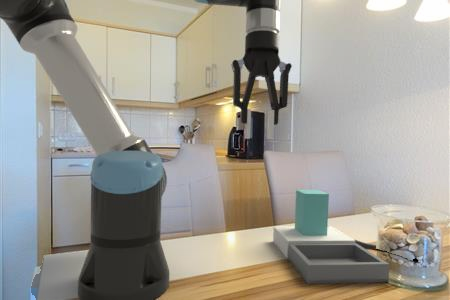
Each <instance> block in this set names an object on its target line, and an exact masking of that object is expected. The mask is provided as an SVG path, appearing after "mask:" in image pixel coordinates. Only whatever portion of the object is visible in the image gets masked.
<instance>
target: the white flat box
mask: <svg viewBox="0 0 450 300" xmlns="http://www.w3.org/2000/svg"><path fill="white" fill-rule="evenodd" d="M355 240H356V239H355V238H352V237H351V236H348V235H347V234H345V233H344V232H342V231H340V230H338V229H337V228H336V227H334V226H331V225H329V226H327V235H302V234H301V233H300V232H298V231H297V230H296V229H295V225H293V226H291V225H290V226H287V225H286V226H285V225H284V226H282V225H279V226H278V225H277V226H275V225H274V226H273V239H272V242H273V243H274V245H275V246H277V248H278V249H279V250H280V252H281V253H282V254H283V256H285V258H286V259H287V260H288V244H345V243H355Z"/></svg>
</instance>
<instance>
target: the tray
mask: <svg viewBox="0 0 450 300" xmlns="http://www.w3.org/2000/svg"><path fill="white" fill-rule="evenodd" d="M287 260H288V262H289V263H290V264H291V265H292V266H293V267H294V269H295V271H297V272H298V274H299V275H300V276H301V277H302V278H303V280H304V281H305V282H306V283H307V284H308V285H310V284H314V285H315V284H352V283H353V284H355V283H356V284H357V283H358V284H359V283H360V284H361V283H362V284H363V283H389V279H390V277H389V276H390V263H389V262H387V261H385V260H383V258H380V257H379V256H378V255H376V254H374V253H373V252H371V251H369V249H365V248H363V247H361V246H360V245H358V244H357V243H345V244H288V259H287Z"/></svg>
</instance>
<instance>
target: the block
mask: <svg viewBox="0 0 450 300" xmlns="http://www.w3.org/2000/svg"><path fill="white" fill-rule="evenodd" d="M329 196H330V193H327V192H325V191H322V190H319V189H296V190H295V211H294V212H295V213H294V214H295V215H294V226H295V229H296V230H297V231H298V232H300V233H301V234H302V235H327V226H328V224H329V223H328V221H329V199H330V197H329Z"/></svg>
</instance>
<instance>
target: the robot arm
mask: <svg viewBox="0 0 450 300" xmlns="http://www.w3.org/2000/svg"><path fill="white" fill-rule="evenodd" d="M194 2H196V3H199V4H200V3H201V4H205V5H208V6H213V5H215V6H217V5H218V6H228V7H230V6H231V7H239V8H246V12H245V13H246V14H245V15H246V18H245V33H246V35H245V39H244V40H245V42H244V56H243V57H242V58H241V59H238V60H237V59H233V61H232V62H231V65H230V66H231V68H232V72H233V94H232V96H233V97H232V99H233V101H232V105H233V106H234V107H237V108H239V109H240V123H241V124H244V139H245V140H246V139H247V140H248V139H251V129H252V128H251V127H252V126H251V124H252V123H251V122H252V108H249V104H250V100H251V97H252V93H253V92H252V91H253V89H254V85H255V81H256V78H258V77H262V78H264V81H265V82H266V88H267V93H268V97H269V104H270V110H268V111H267V126H266V127H267V130H266V131H267V134H266V139H267V140H274V135H275V134H274V132H275V129H274V128H275V127H274V126H275V125H276V126H277V125H278V124H279V114H280V113H279V111H280V110H281V109H284V108H287V106H288V99H289V98H288V97H289V96H288V95H289V77H290V76H289V75H290V72H291V69H292V67H293V66H292V64H291V63H290V62H289V63H286V62H284V61H281V58H280V55H279V53H280V52H279V51H280V35H279V33H280V31H281V30H280V29H281V17H280V16H281V0H194ZM0 19H1V20H3V22H4V23H5V24H6V26H7V27H8V29H9V30H10V32H11V33H12V35H13V37H14V38H15V39H16V41H17V43H18V45H19V46H20V48H21V49H22V50H23V52H24V51H25V52H27V53H30V54H32V55H35V57H36V58H37V60H38V62H39V63H40V65H41V66H42V68H43V70H44V72H45V73H46V75H47V76H48V78H49V79H50V81H51V82H52V85H53V87H55V89H56V91H57V92H58V94H59V95H60V97H61V99H62V101H63V102H64V103H65V106H66V107H67V109H68V110H69V112H70V115H72V117H73V119H74V120H75V122H76V123H77V126H79V128H80V130H81V132H82V133H83V135H84V136H85V138H86V139H87V141H88V143H89V144H90V146H91V148H92V150H93V151H94V153H95V155H96V156H95V157H94V159H93V161H92V166H91V171H90V174H89V175H90V183H91V184H90V186H91V187H90V188H91V191H90V193H91V194H90V195H91V197H90V244H89V248H88V251H87V253H86V257H85V260H84V263H83V265H82V268H81V271H80V274H79V277H78V281H77V282H78V283H77V294H78V297H79V299H81V300H156V299H157V298H159V297H161V296H162V295H163V294H164V293H165V292H166V291H167V290H168V289H169V286H170V268H169V264H168V261H167V258H166V256H165V255H166V254H165V252H164V248H163V246H162V242H161V228H162V227H161V226H162V225H161V223H162V221H161V220H162V198H163V195H164V193H165V191H166V188H167V184H168V179H167V172H166V169H165V167H164V166H163V164H162V163H163V161H162V158H161V157H160V155H158V154H156V153H154V152H153V151H152V150H151V148H150V146H149V144H147V141H146V139H144V138H143V137H139V136H136V135H135V134H133V132H132V130H131V129H130V127H129V126H128V124H127V123H128V122H126V121H125V118H124V117H123V115H122V113H121V112H120V110H119V109H118V106H117V105H116V104H115V102H114V100H113V98H112V97H111V95H110V93H109V91H108V90H107V88H106V86H105V85H104V84H103V81H102V80H101V79H100V77H99V75H98V73H97V71H96V70H95V67H93V65H92V63H91V61H90V60H89V58H88V57H87V54H86V53H85V51H84V50H83V48H82V46H81V44H80V43H79V41H78V39H77V37H76V35H77V32H78V26H77V24H76V22H75V20H74V19H73V17H72V15H71V14H70V10H69V7H68V5H67V1H66V0H0ZM243 66H245V68H246V70H247V72H248V77H247V83H246V86H245V90H244V94H243V97H242V101H241V81H242V79H241V78H242V77H241V76H242V73H241V72H242V71H241V70H242V69H243ZM277 68H279V72H280V76H279V80H280V81H279V93H277V87H276V83H275V73H274V72H275V71H276V70H277ZM278 94H279V96H278ZM278 97H279V98H278Z"/></svg>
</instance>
